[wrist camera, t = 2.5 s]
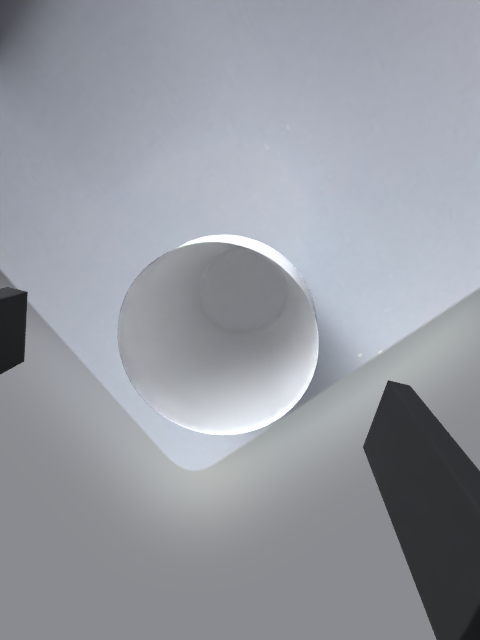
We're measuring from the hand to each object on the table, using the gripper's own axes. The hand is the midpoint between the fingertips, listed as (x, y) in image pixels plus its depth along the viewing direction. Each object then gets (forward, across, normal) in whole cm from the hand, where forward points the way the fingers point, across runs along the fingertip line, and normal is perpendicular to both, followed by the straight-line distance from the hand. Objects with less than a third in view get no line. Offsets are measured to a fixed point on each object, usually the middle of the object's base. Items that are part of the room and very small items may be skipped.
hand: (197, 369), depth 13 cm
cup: (+15, 0, 0) cm, 15 cm away
